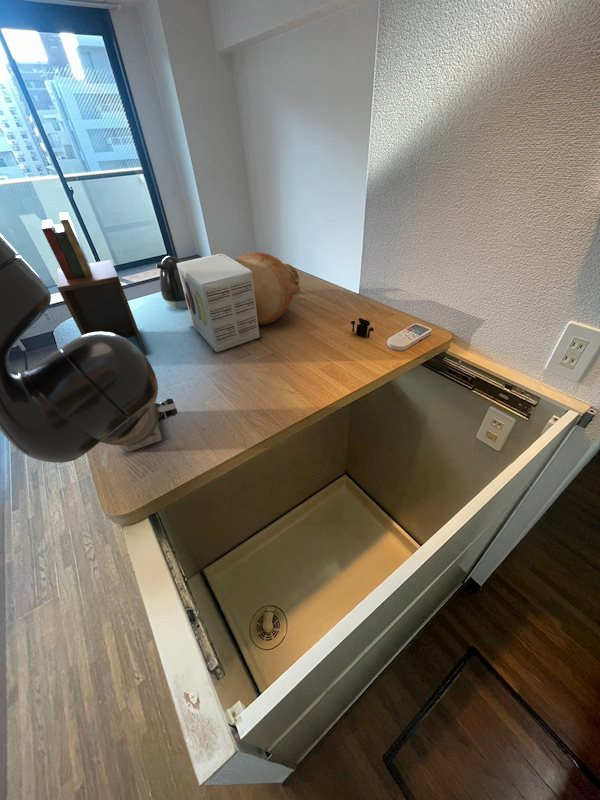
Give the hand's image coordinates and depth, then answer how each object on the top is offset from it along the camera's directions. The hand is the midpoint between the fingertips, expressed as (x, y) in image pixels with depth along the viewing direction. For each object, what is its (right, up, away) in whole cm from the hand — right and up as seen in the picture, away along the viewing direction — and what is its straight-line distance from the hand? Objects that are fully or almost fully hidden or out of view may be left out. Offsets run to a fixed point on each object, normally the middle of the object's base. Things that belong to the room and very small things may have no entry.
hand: (141, 423), depth 56 cm
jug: (+19, +32, +46) cm, 59 cm away
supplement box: (+7, +23, +35) cm, 43 cm away
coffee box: (-3, -2, +7) cm, 8 cm away
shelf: (-20, +18, +29) cm, 39 cm away
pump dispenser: (-11, +35, +49) cm, 61 cm away
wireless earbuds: (+45, +22, +33) cm, 60 cm away
